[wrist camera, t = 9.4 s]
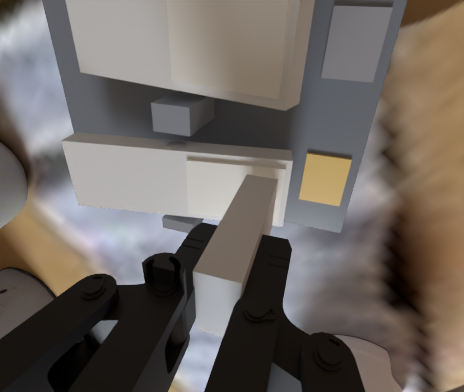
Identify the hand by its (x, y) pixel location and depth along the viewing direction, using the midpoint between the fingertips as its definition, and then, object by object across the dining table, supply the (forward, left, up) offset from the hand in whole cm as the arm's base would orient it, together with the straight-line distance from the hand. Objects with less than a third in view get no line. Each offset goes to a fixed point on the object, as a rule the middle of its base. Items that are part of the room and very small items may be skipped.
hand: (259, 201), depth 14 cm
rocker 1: (-7, -5, -1) cm, 8 cm away
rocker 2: (0, -5, -1) cm, 5 cm away
